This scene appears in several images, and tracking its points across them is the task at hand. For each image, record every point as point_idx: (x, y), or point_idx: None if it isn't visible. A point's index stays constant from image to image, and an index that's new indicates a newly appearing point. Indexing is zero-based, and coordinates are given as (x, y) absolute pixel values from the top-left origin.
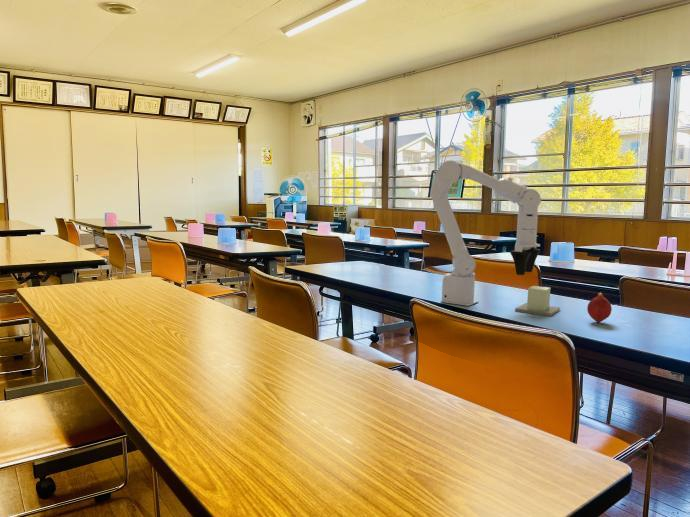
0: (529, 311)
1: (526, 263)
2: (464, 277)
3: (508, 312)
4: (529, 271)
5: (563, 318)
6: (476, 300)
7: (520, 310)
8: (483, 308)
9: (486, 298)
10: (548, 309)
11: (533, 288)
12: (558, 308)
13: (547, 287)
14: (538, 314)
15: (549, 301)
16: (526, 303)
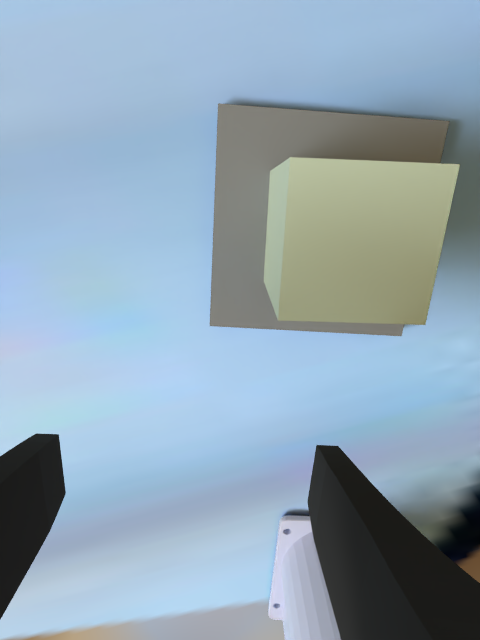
0: None
1: (392, 548)
2: None
3: (439, 349)
4: (55, 456)
5: (461, 34)
6: (288, 527)
7: None
8: (404, 461)
9: (160, 514)
10: None
11: (419, 284)
12: (257, 107)
13: (294, 186)
14: None
15: (275, 168)
16: (224, 319)
